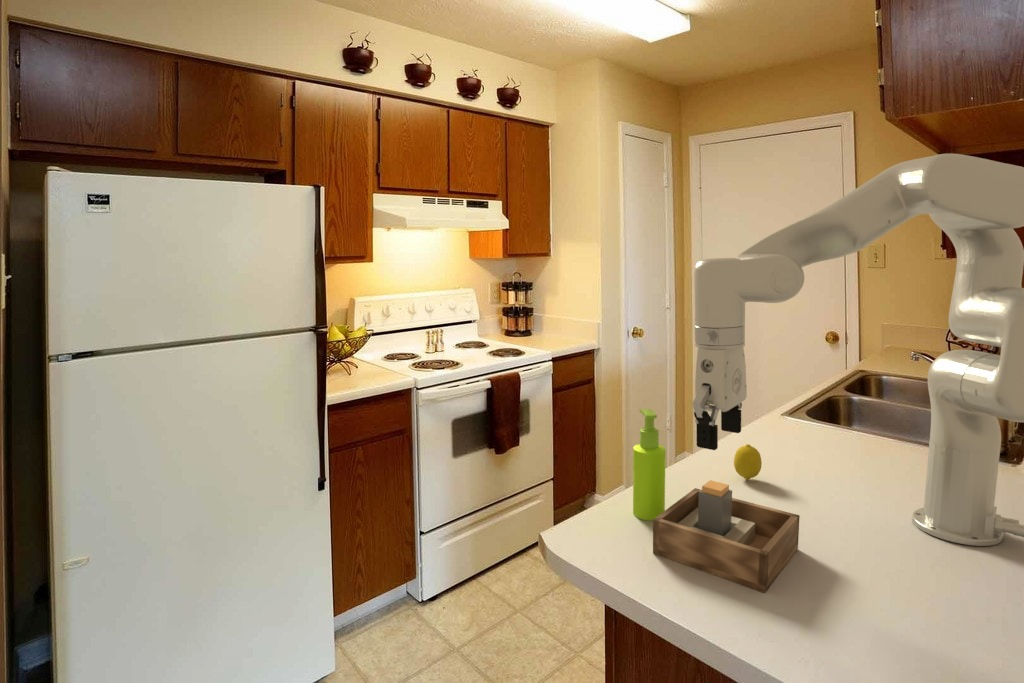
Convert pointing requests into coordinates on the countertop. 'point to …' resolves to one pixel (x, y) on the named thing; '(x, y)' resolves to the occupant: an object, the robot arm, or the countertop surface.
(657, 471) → the soap dispenser
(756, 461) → the lemon
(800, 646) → the countertop surface
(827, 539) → the countertop surface
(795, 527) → the crate
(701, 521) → the plug
